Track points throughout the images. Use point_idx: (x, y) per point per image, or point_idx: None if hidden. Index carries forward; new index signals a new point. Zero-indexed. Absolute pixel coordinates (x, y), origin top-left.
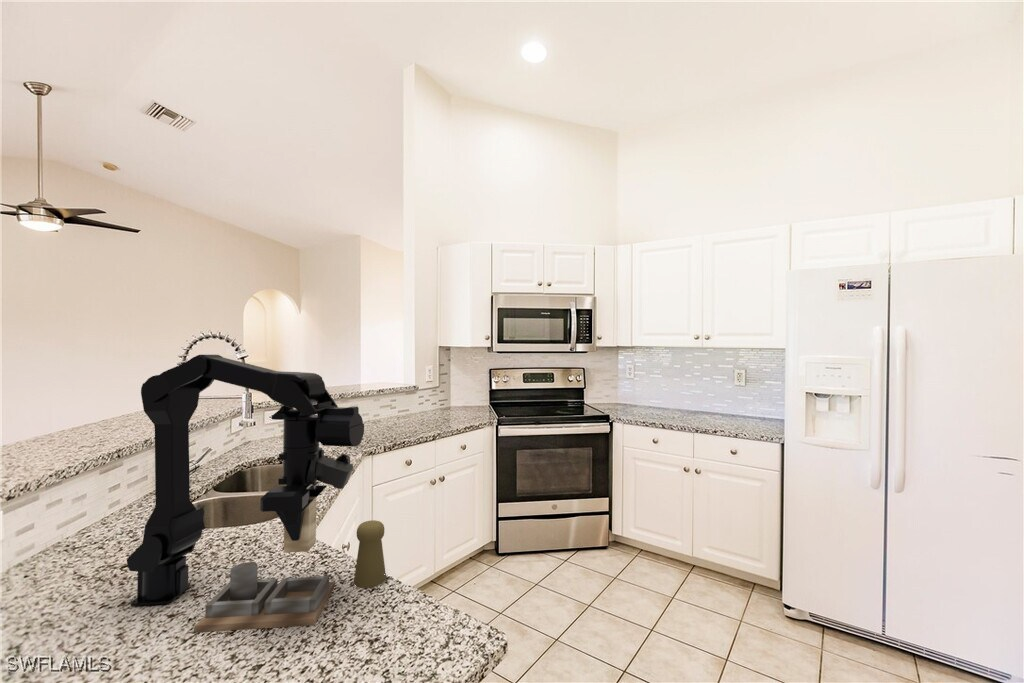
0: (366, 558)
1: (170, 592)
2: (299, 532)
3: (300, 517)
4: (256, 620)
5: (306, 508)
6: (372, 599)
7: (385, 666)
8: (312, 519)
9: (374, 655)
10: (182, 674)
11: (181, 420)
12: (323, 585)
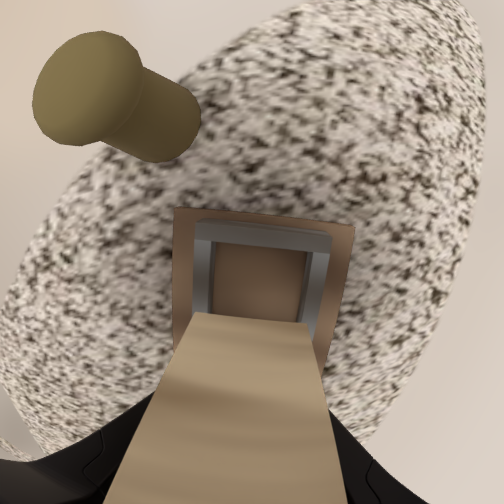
0: (165, 108)
1: None
2: (337, 419)
3: (400, 485)
4: (323, 345)
5: None
6: (263, 101)
7: (474, 99)
8: (240, 417)
9: (455, 110)
10: (406, 383)
11: None
12: (253, 229)
